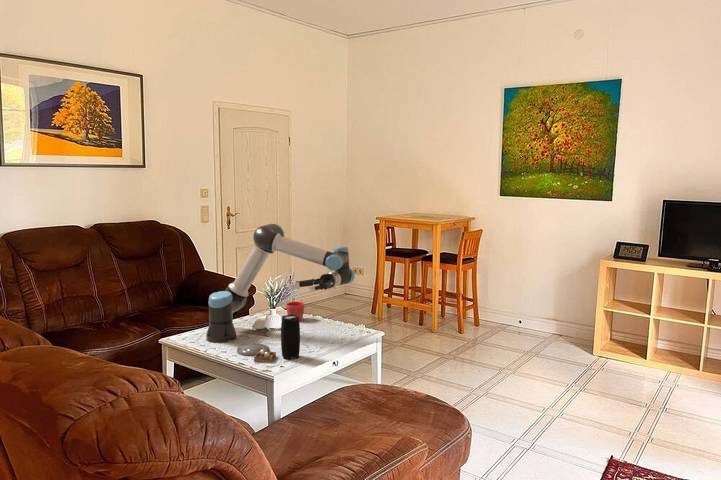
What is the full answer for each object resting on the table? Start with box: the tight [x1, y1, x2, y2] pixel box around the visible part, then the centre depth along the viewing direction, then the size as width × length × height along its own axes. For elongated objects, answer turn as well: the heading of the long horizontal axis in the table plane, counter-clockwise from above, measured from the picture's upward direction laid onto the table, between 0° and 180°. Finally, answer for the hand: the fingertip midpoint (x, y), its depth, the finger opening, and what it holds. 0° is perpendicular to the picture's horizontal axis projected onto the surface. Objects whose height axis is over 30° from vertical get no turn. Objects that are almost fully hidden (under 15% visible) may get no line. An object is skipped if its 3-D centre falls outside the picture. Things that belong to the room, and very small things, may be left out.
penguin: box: [251, 315, 267, 331], centre depth 302 cm, size 8×8×15 cm
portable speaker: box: [280, 314, 301, 361], centre depth 254 cm, size 9×9×20 cm
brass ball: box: [264, 351, 271, 357], centre depth 250 cm, size 3×3×3 cm
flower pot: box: [285, 301, 306, 322], centre depth 320 cm, size 11×11×10 cm
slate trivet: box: [236, 343, 270, 357], centre depth 264 cm, size 15×15×1 cm
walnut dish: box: [253, 351, 277, 363], centre depth 252 cm, size 8×8×2 cm
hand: (298, 288), depth 258 cm, fingers open, 13 cm apart
